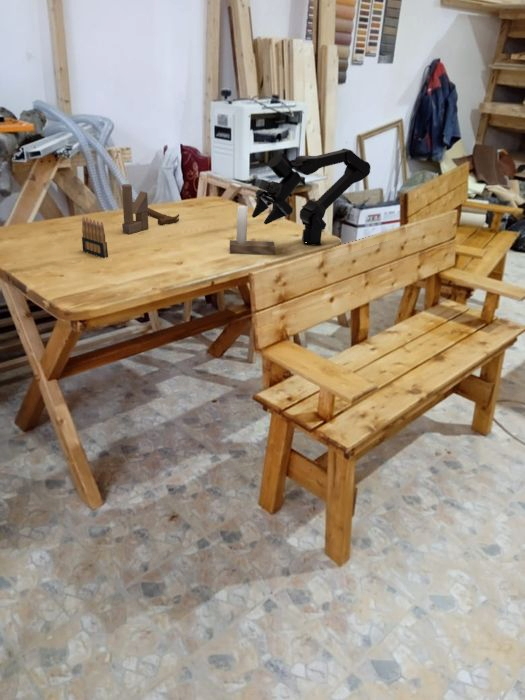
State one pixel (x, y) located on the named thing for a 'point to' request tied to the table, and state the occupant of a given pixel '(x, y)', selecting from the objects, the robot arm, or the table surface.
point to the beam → (253, 247)
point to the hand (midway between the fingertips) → (258, 220)
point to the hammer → (163, 217)
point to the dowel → (242, 225)
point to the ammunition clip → (94, 238)
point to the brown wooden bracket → (134, 210)
